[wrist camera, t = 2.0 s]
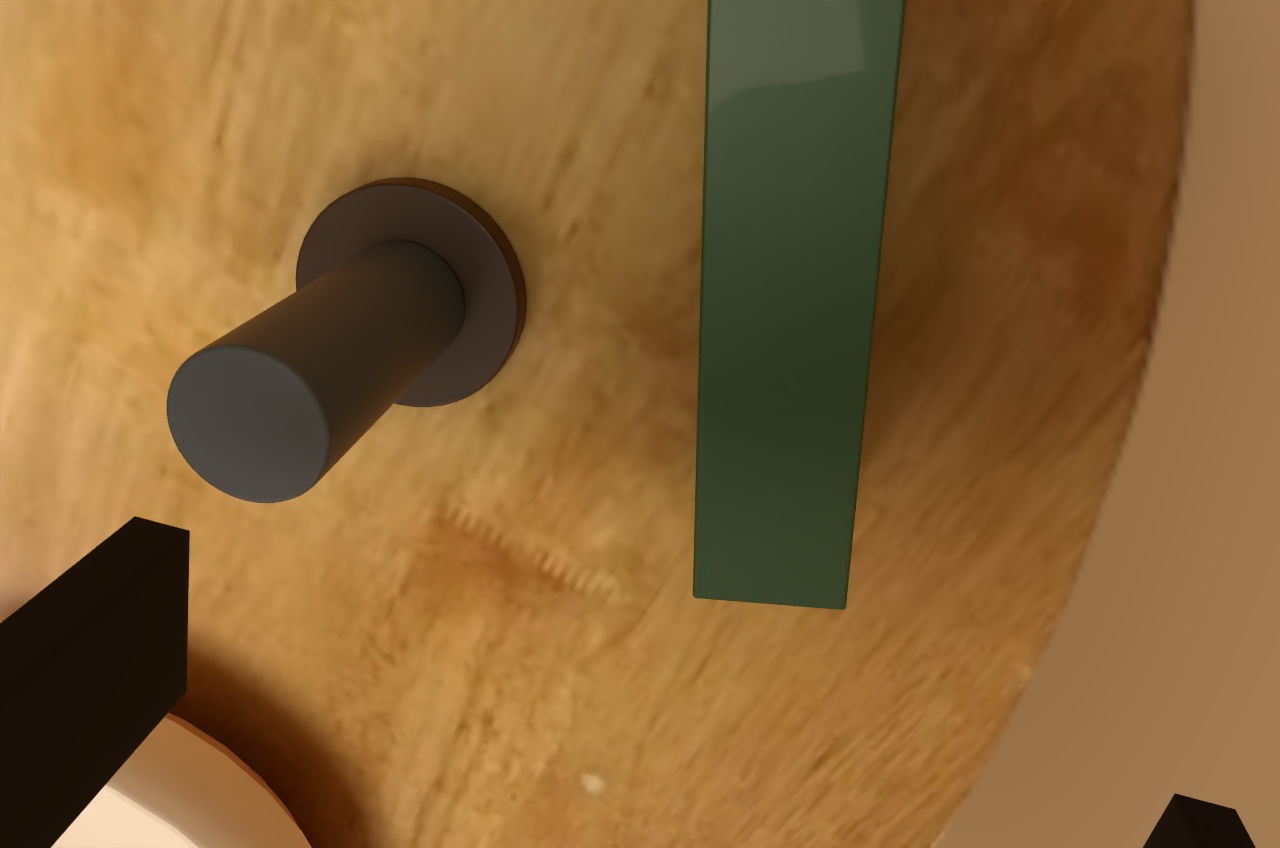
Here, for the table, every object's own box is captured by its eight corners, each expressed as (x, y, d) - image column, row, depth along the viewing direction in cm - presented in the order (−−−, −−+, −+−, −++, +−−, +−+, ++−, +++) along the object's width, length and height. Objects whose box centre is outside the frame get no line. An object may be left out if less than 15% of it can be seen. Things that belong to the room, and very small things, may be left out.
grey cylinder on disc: (487, 153, 25) (335, 235, 17) (553, 376, 27) (447, 545, 19) (274, 205, 26) (37, 305, 18) (353, 413, 28) (172, 587, 20)
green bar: (898, -170, 21) (927, -213, 16) (838, 507, 27) (845, 611, 23) (731, -167, 21) (713, -208, 17) (709, 499, 28) (692, 599, 23)
